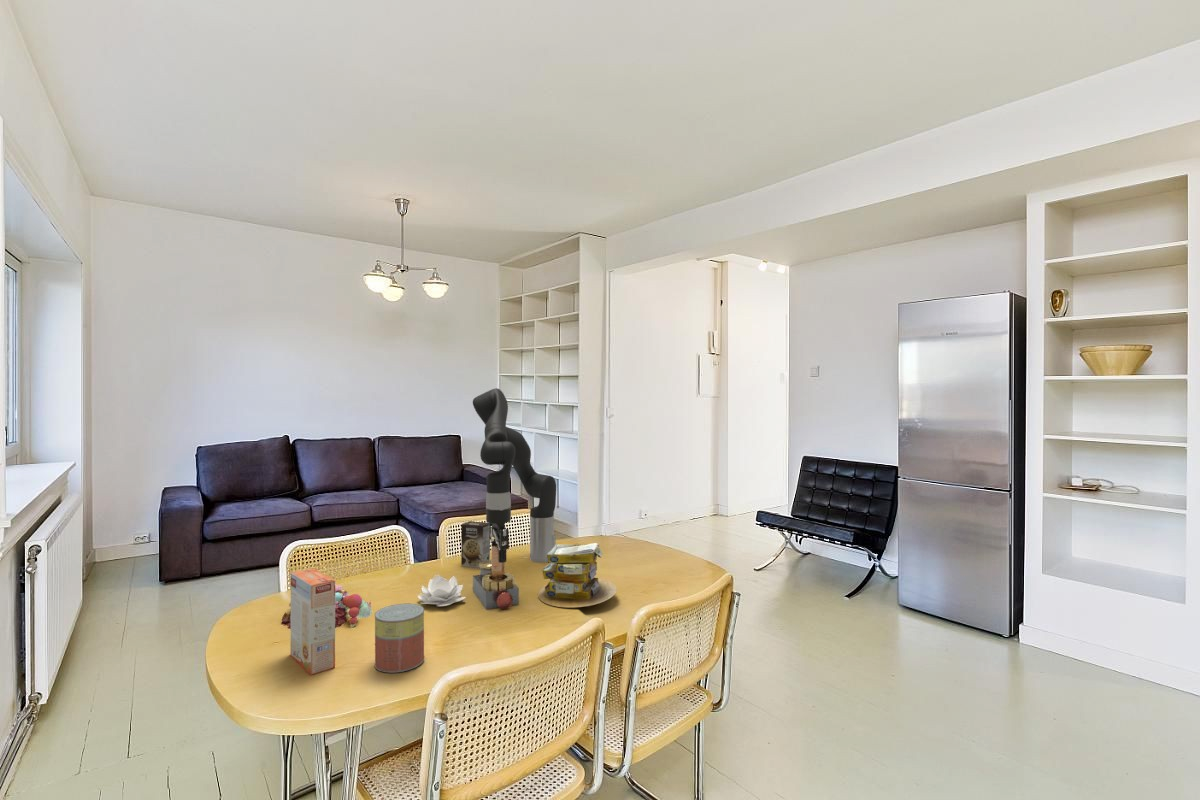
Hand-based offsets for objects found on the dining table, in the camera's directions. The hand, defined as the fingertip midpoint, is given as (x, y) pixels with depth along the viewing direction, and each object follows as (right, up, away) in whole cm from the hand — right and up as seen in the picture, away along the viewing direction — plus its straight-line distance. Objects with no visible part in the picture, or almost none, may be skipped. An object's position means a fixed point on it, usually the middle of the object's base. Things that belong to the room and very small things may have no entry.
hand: (498, 558), depth 181 cm
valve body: (-1, -13, +3) cm, 14 cm away
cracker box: (-37, -14, -41) cm, 57 cm away
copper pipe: (0, -8, 0) cm, 8 cm away
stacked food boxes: (+28, -17, +5) cm, 33 cm away
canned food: (-17, -14, -40) cm, 46 cm away
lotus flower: (-17, -14, -1) cm, 22 cm away
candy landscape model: (-47, -14, -13) cm, 50 cm away
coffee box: (-15, -13, +37) cm, 42 cm away
